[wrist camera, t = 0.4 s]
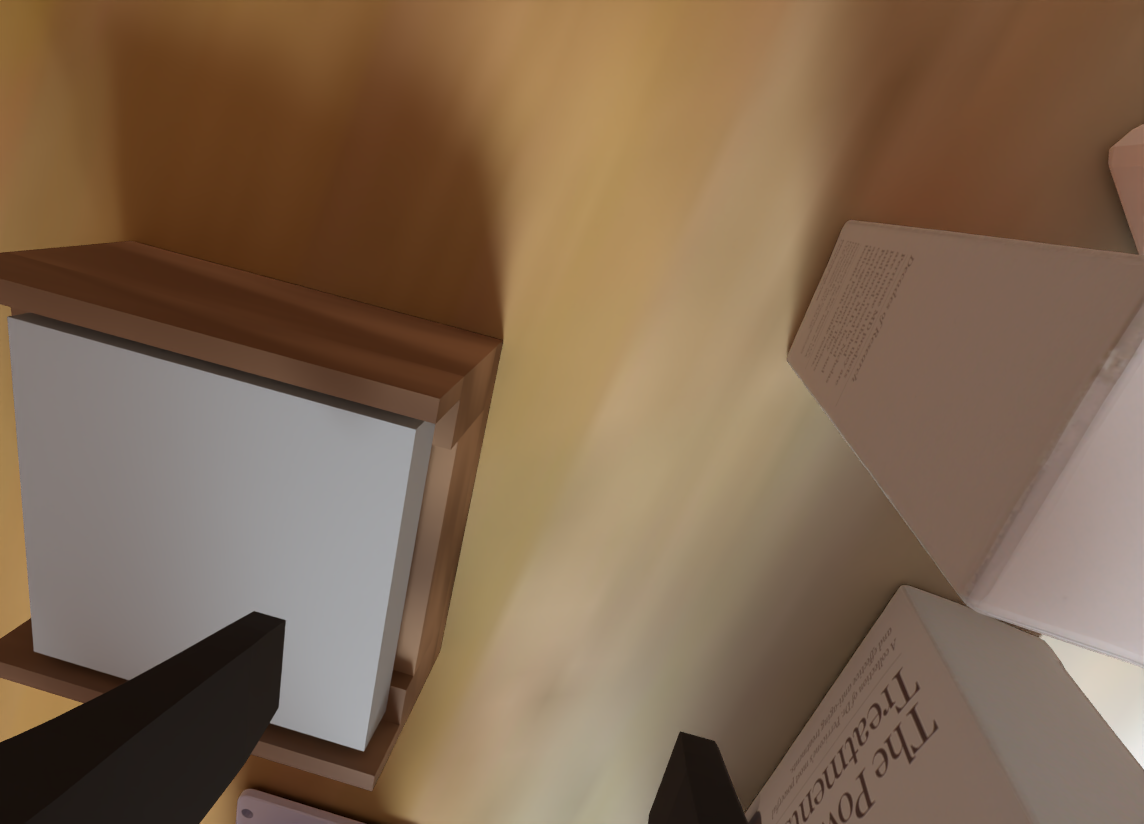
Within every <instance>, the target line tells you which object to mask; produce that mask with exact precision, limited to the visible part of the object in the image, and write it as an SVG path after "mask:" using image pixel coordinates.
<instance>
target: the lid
mask: <svg viewBox="0 0 1144 824" xmlns="http://www.w3.org/2000/svg"><path fill="white" fill-rule="evenodd" d="M7 318H8V331H9V343H10V356H11V369H12V381H13V394H14V407H15V419H16V432H17V445H18V457H19V470H20V482H21V495H22V508H23V520H24V533H25V546H26V558H27V571H28V584H29V596H30V609H31V621H32V634H33V647H34V652H37V653H41V654H44V655H47V656H51V657H54V658H57V659H60V660H64V661H67V662H70V663H74V664H77V665H80V666H84V667H87V668H90V669H93V670H97V671H100V672H103V673H107V674H110V675H113V676H117V677H120V678H123V679H126V680H131V679H133V678H134V677H136V676H138V675H140V674H142V673H144V672H145V671H147V670H149V669H151V668H153V667H155V666H156V665H158V664H160V663H162V662H164V661H166V660H167V659H169V658H171V657H173V656H175V655H176V654H178V653H180V652H182V651H184V650H185V649H187V648H189V647H191V646H192V645H194V644H196V643H198V642H199V641H201V640H203V639H205V638H206V637H208V636H210V635H212V634H214V633H215V632H217V631H219V630H221V629H222V628H224V627H226V626H228V625H229V624H231V623H233V622H235V621H237V620H239V619H240V618H242V617H244V616H246V615H248V614H249V613H251V612H253V611H256V612H259V613H263V614H266V615H270V616H273V617H277V618H280V619H284V620H286V626H285V638H284V650H283V662H282V674H281V687H280V699H279V708H278V710H277V711H276V713H275V715H274V716H273V718H272V720H271V721H270V723H271V724H275V725H278V726H281V727H285V728H288V729H291V730H294V731H298V732H301V733H304V734H308V735H311V736H314V737H318V738H321V739H324V740H327V741H331V742H334V743H337V744H341V745H344V746H347V747H350V748H354V749H357V750H360V751H365V749H366V747H367V745H368V743H369V741H370V739H371V738H372V736H373V734H374V732H375V730H376V728H377V726H378V725H379V723H380V721H381V719H382V717H383V715H384V713H385V711H386V707H387V701H388V696H389V690H390V684H391V678H392V672H393V667H394V661H395V655H396V649H397V643H398V638H399V632H400V626H401V620H402V614H403V609H404V603H405V597H406V591H407V585H408V580H409V574H410V568H411V562H412V557H413V551H414V545H415V539H416V533H417V528H418V522H419V516H420V510H421V504H422V499H423V493H424V487H425V481H426V475H427V470H428V464H429V458H430V452H431V447H432V441H433V435H434V429H435V424H433V423H430V422H426V421H422V420H419V419H415V418H411V417H408V416H404V415H401V414H397V413H393V412H390V411H386V410H382V409H379V408H375V407H372V406H368V405H364V404H361V403H357V402H353V401H350V400H346V399H343V398H339V397H335V396H332V395H328V394H324V393H321V392H317V391H314V390H310V389H306V388H303V387H299V386H295V385H292V384H288V383H285V382H281V381H277V380H274V379H270V378H266V377H263V376H259V375H256V374H252V373H248V372H245V371H241V370H237V369H234V368H230V367H227V366H223V365H219V364H216V363H212V362H208V361H205V360H201V359H198V358H194V357H190V356H187V355H183V354H179V353H176V352H172V351H169V350H165V349H161V348H158V347H154V346H150V345H147V344H143V343H140V342H136V341H132V340H129V339H125V338H121V337H118V336H114V335H111V334H107V333H103V332H100V331H96V330H92V329H89V328H85V327H82V326H78V325H74V324H71V323H67V322H63V321H60V320H56V319H53V318H49V317H45V316H42V315H38V314H34V313H31V312H30V313H24V314H19V315H14V316H9V317H7Z"/></svg>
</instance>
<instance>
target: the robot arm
mask: <svg viewBox="0 0 1144 824" xmlns="http://www.w3.org/2000/svg"><path fill="white" fill-rule="evenodd" d="M285 626H286V620H284V619H280V618H277V617H273V616H270V615H266V614H263V613H259V612H256V611H253V612H251V613H249V614H248V615H246V616H244V617H242V618H240V619H239V620H237V621H235V622H233V623H231V624H229V625H228V626H226V627H224V628H222V629H221V630H219V631H217V632H215V633H214V634H212V635H210V636H208V637H206V638H205V639H203V640H201V641H199V642H198V643H196V644H194V645H192V646H191V647H189V648H187V649H185V650H184V651H182V652H180V653H178V654H176V655H175V656H173V657H171V658H169V659H167V660H166V661H164V662H162V663H160V664H158V665H156V666H155V667H153V668H151V669H149V670H147V671H145V672H144V673H142V674H140V675H138V676H136V677H134V678H133V679H131V680H129V681H127V682H125V683H123V684H121V685H119V686H118V687H116V688H114V689H112V690H110V691H108V692H106V693H104V694H102V695H100V696H98V697H96V698H94V699H92V700H90V701H88V702H86V703H84V704H82V705H80V706H78V707H76V708H74V709H72V710H70V711H68V712H66V713H64V714H62V715H60V716H58V717H56V718H54V719H52V720H49V721H47V722H45V723H43V724H41V725H39V726H37V727H34V728H32V729H30V730H28V731H25V732H23V733H21V734H19V735H17V736H14V737H12V738H10V739H7V740H5V741H3V742H0V824H199V823H200V822H201V821H202V819H203V818H204V817H205V816H206V814H207V813H208V812H209V810H210V809H211V808H212V806H213V805H214V804H215V802H216V801H217V800H218V799H219V797H220V796H221V795H222V793H223V792H224V791H225V789H226V788H227V787H228V785H229V784H230V783H231V781H232V780H233V779H234V777H235V776H236V775H237V773H238V772H239V771H240V769H241V768H242V767H243V765H244V764H245V762H246V761H247V759H248V758H249V756H250V754H251V753H252V751H253V750H254V748H255V746H256V745H257V743H258V742H259V740H260V738H261V737H262V735H263V733H264V732H265V730H266V728H267V727H268V725H269V723H270V721H271V720H272V718H273V716H274V715H275V713H276V711H277V710H278V708H279V699H280V687H281V674H282V662H283V650H284V638H285ZM236 824H365V823H362V822H359V821H356V820H352V819H349V818H346V817H343V816H339V815H336V814H333V813H330V812H327V811H323V810H320V809H317V808H314V807H310V806H307V805H304V804H301V803H297V802H294V801H291V800H288V799H284V798H281V797H278V796H275V795H272V794H268V793H265V792H262V791H259V790H255V789H246V790H244V791H243V792H242V794H241V795H240V796H239V798H238V801H237V815H236ZM648 824H748V821H747V819H746V817H745V814H744V812H743V809H742V807H741V804H740V802H739V800H738V797H737V795H736V792H735V790H734V787H733V784H732V782H731V779H730V777H729V774H728V771H727V769H726V766H725V764H724V761H723V758H722V756H721V753H720V750H719V748H718V746H717V744H716V743H715V741H712V740H709V739H705V738H702V737H698V736H694V735H691V734H687V733H684V732H680V733H679V735H678V738H677V741H676V744H675V746H674V749H673V752H672V754H671V757H670V760H669V762H668V765H667V768H666V771H665V773H664V776H663V779H662V781H661V784H660V787H659V789H658V792H657V795H656V798H655V800H654V803H653V806H652V808H651V811H650V814H649V821H648Z"/></svg>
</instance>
